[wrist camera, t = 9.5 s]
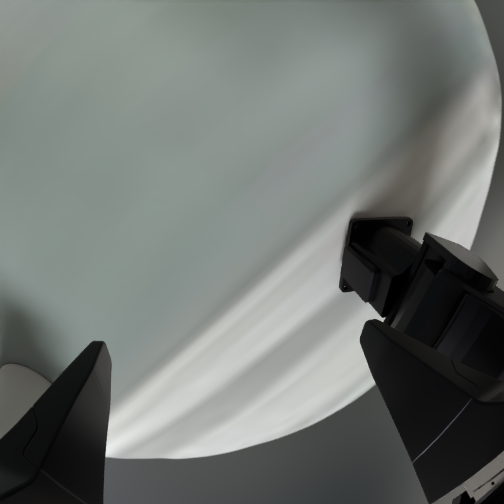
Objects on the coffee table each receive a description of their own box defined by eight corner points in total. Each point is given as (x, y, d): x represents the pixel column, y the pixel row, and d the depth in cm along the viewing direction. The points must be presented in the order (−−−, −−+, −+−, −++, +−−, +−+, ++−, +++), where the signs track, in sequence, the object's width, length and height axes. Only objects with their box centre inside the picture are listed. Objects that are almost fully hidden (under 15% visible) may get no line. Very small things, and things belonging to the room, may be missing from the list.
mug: (-5, 383, 22) (-29, 453, 12) (5, 350, 20) (-29, 434, 11) (75, 429, 27) (67, 501, 18) (99, 406, 26) (90, 492, 16)
